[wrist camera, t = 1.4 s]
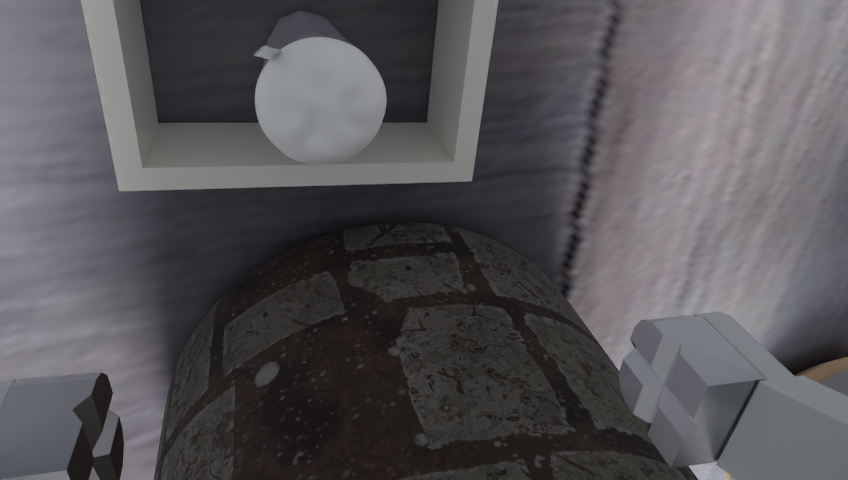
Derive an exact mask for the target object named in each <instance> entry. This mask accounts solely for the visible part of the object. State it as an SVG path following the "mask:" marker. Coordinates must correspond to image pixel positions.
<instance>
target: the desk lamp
mask: <svg viewBox="0 0 848 480" xmlns="http://www.w3.org/2000/svg"><path fill="white" fill-rule="evenodd" d="M794 376H805V377H807V378H809V379H811V380H813V381H815V382H818V383H820V384H822V385H824V386H826V387H828V388H831V389H833V390H835V391H837V392H839V393H841V394H844V395H846V396H848V357H845V358H841V359H837V360H833V361H830V362H826V363H822V364H819V365H817V366H814V367H811V368H808V369H805V370H803V371H802V372H800V373H798V374H796V375H794ZM724 473H725V477H726V480H737V479H735V478H734V477H733V476H731V475H730V474H729V473H727V472H726V471H724Z"/></svg>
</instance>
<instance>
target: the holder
mask: <svg viewBox="0 0 848 480" xmlns="http://www.w3.org/2000/svg"><path fill="white" fill-rule="evenodd" d="M498 1H499V0H439V2H438V13H437V23H436V33H435V44H434V54H433V64H432V74H431V85H430V95H429V105H428V116H427V123H382V124H381V126H380V128H379V130H378V132H377V134H376V135H375V137H374V138H373V139H372V141H371V142H370V143H369V144H368V145H367V146H366V147H365V148H364V149H362V150H361V151H360V152H359V153H357V154H356V155H354V156H353V157H351V158H349V159H347V160H345V161H342V162H337V163H329V164H321V165H308V164H304V163H301V162H298V161H296V160H294V159H292V158H290V157H288V156H286V155H285V154H284V153H282V152H281V151H280V150H279V149H278V148H277V147H276V146H275V145H274V144H273V143H272V142H271V141H270V140H269V138H268V137H267V136H266V135H265V133H264V132H263V130H262V128H261V126H260V124H259V123H158V116H157V110H156V103H155V97H154V90H153V84H152V77H151V70H150V64H149V57H148V51H147V44H146V38H145V31H144V25H143V18H142V11H141V5H140V0H81V5H82V10H83V14H84V19H85V24H86V29H87V34H88V39H89V44H90V49H91V54H92V59H93V64H94V69H95V74H96V79H97V84H98V89H99V94H100V99H101V104H102V109H103V114H104V119H105V123H106V128H107V133H108V138H109V143H110V148H111V153H112V158H113V163H114V168H115V173H116V178H117V183H118V188H119V191H151V190H186V189H222V188H257V187H293V186H328V185H363V184H399V183H434V182H470V181H472V177H473V171H474V164H475V157H476V150H477V143H478V137H479V130H480V123H481V116H482V110H483V103H484V96H485V89H486V82H487V76H488V69H489V62H490V55H491V48H492V42H493V35H494V28H495V21H496V14H497V8H498Z"/></svg>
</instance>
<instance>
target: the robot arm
mask: <svg viewBox="0 0 848 480" xmlns="http://www.w3.org/2000/svg"><path fill="white" fill-rule="evenodd" d="M630 340H631V342H632V344H633V346H634V347H635V348H634V349H633V350H632V351H631V352H630V353H629V354H628V355H627V356H626V357H625V358H624V359H623V362H622V365H621V368H620V372H619V380H620V390H621V393H622V395H623V398H624V400H625V402H626V404H627V405H628V407H629V408H630V410H631V411H632V413H633V414H634V415H636V416H638V417H639V418H641V419H643V420H644V421H646V422H648V436H649V438H650V439H651V441H652V442H653V443H654V445H655V446H656V448H657V449H658V451H659V452H660V454H661V455H662V456H663V458H664V459H665V461H666V462H667V464H668V465H669V466H670V468H675V467H682V466H689V465H697V464H704V463H711V462H717V464H716V465H718V466H719V467H720V468H722V469H723V470H724V471H726V472H727V473H729V474H730V475H731V476H733V477H734V478H735V479H737V480H848V396H846V395H844V394H841V393H839V392H837V391H835V390H833V389H831V388H828V387H826V386H824V385H822V384H820V383H818V382H815V381H813V380H811V379H809V378H807V377H805V376H794V375H793V374H792V373H791V372H790V371H789V370H787V369H786V368H785V367H784V366H783V365H782V364H781V363H780V362H779V361H778V360H777V359H776V358H775V357H774V356H773V355H771V354H770V353H769V352H768V351H767V350H766V349H765V348H764V347H763V346H762V345H761V344H760V343H759V342H758V341H757V340H755V339H754V338H753V337H752V336H751V335H750V334H749V333H748V332H747V331H746V330H745V329H744V328H743V327H742V326H741V325H739V324H738V323H737V322H736V321H735V320H734V319H733V318H732V317H731V316H729V315H727V314H725V313H722V312H712V313H703V314H695V315H692V316H689V315H688V316H679V317H669V318H660V319H651V320H641V321H640V322H639V323H638V324H637V325H636V326H635V327H634V330H633V333H632V335H631V338H630ZM112 394H113V392H112V389H111V386H110V382H109V379H108V376H107V375H106V374H104V373H89V374H76V375H63V376H49V377H36V378H23V379H19V380H8V381H0V480H120V476H121V471H122V466H123V450H124V441H123V431H122V426H121V422H120V418H119V416H118V415H117V414H115V413H114V412H112V411H111V410H109V405H110V402H111V398H112Z"/></svg>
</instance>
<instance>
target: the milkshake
mask: <svg viewBox="0 0 848 480" xmlns="http://www.w3.org/2000/svg"><path fill="white" fill-rule="evenodd" d="M254 56H256V57H261V58H264V62H263V67H262V70H261V73H260V76H259V78H258V81H257V85H256V90H255V109H256V114H257V118H258V121H259V124H260V126H261V128H262V130H263V132H264V133H265V135H266V136H267V137H268V138H269V140H270V141H271V142H272V143H273V144H274V145H275V146H276V147H277V148H278V149H279V150H280V151H281V152H282V153H284V154H285V155H286V156H288V157H290V158H292V159H294V160H296V161H298V162H301V163H304V164H308V165H321V164H329V163H337V162H342V161H345V160H347V159H349V158H351V157H353V156H354V155H356V154H357V153H359V152H360V151H361V150H362V149H364V148H365V147H366V146H367V145H368V144H369V143H370V142H371V141H372V139H373V138H374V137H375V135H376V134H377V132H378V130H379V128H380V126H381V124H382V121H383V118H384V114H385V110H386V102H387V98H386V90H385V86H384V83H383V80H382V78H381V76H380V74H379V72H378V70H377V69H376V67H375V66H374V64H373V63H372V62H371V61H370V59H369V58H368V57H367V56H366V55H365V54H364V53H363V52H362V51H360V50H359V49H358V48H356V47H355V46H354V45H353V44H351V43H350V42H349V41H348V40H347V39H345V38H344V37H343V36H342V35H341V34H340V33H339V32H338V31H337V30H336V29H335V28H334V27H333V26H332V25H331V23H330V22H329V21H328V20H327V19H326V18H325V17H324V16H321V15H317V14H314V13H310V12H307V11H303V10H299V11H297V12H294V13H292V14H289V15H287V16H284V17H282V18H280V19H279V20H278V22H277V24H276V26H275V28H274V29H273V31H272V33H271V35H270V36H269V38H268V42H267V46H266V45H264V46H263V47H261V48H260V49H259V50H258V51H257V52H256V53H255V54H254Z"/></svg>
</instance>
